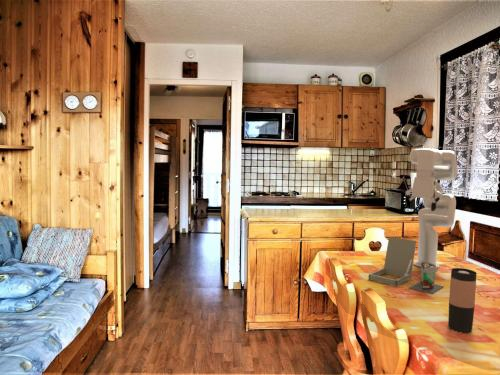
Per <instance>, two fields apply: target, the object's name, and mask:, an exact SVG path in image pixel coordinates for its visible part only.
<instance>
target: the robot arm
mask: <svg viewBox="0 0 500 375" xmlns="http://www.w3.org/2000/svg"><path fill="white" fill-rule="evenodd" d="M409 161H410V163H411V164H413V165H416V173H415V175H416V176H415V177H414V179H413V184H412V188H409V189H407V190H406V191H405V195H406V197H407V198H408V200H409V201H410V202H409V203H410V204H409V207H410V209H412V210H413V209H415V206H416V205H415V204H416V201H415V199H416V198H418V199H423V200H424V201H423V206H424V208H421V209H420V210H419V211H418V216H417V218H418V219H417V220H418V245H417V260H414V261H413V265H415V266H417V267H419V268H421V261H422V262H428V263H432V264H434V265H436V267H437V269H438V268H440V264H439V263H437V259H438V258H437V256H438V243H439V242H438V240H439V234H438V231H437V230H436V228H434V227H437V228H451V227H453V225H454V224H455V223H454V222H455V216H456V215H455V214H456V206H457V199H456V196H454V195H453V194H449V193H443V191H444V188H443V186H442V185H441V184H440V183H439V182H438V181H454V180H455V179H457V177H458V161H457V155H456V153H455V152H454V151H452V150H439V149H435V148H432V149H431V148H413V149H412V150H410V153H409ZM410 193H411V194H410Z"/></svg>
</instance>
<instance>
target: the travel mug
mask: <svg viewBox="0 0 500 375" xmlns="http://www.w3.org/2000/svg"><path fill="white" fill-rule="evenodd" d="M477 276H478V275H477V272H476V271H475V270H472V269H469V268H462V267H454V268H451V271H450V284H449V298H448V324H447V325H448V326H447V327H448V328H449V330H451V329H452V330H451V331H453V330H454V332H456V331H457V332H456V333H460V332H462V333H461V334H470V332H471V333H472V332H473V326H474V325H473V324H474V315H475V308H476V307H475V305H476V289H477V288H476V287H477Z"/></svg>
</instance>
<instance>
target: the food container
mask: <svg viewBox="0 0 500 375" xmlns="http://www.w3.org/2000/svg"><path fill="white" fill-rule="evenodd" d="M437 272H438V268H437V267H436V265H434V264H432V263H428V262H422V261H421V267H420V281H419V282H420V284H421V287H422V289H424V290H430V289H433V287H434V284H435V279H436V273H437Z"/></svg>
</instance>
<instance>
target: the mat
mask: <svg viewBox="0 0 500 375" xmlns="http://www.w3.org/2000/svg"><path fill="white" fill-rule="evenodd" d="M443 288H444V286H443V285H440V284H439V285H438V284H436V283H434V287H433V289H430V290H424V289H422V287H421V284H420V281H419V282H417V283H415V284H413V285H411V286H409V288H408V289H410V290H414V291H418V292H422V293H427V294H429V295H434V294H435V293H436V292H439V291H440V290H441V289H443Z"/></svg>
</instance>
